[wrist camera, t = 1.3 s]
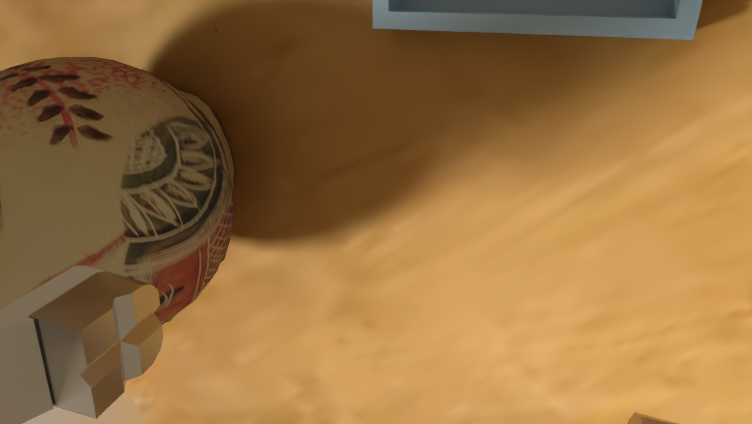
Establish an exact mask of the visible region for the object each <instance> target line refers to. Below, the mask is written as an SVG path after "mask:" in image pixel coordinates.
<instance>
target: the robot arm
mask: <svg viewBox="0 0 752 424" xmlns="http://www.w3.org/2000/svg"><path fill="white" fill-rule="evenodd" d="M159 306H160V300H159V294H158V289H157V288H155V287H154V286H153V285H151V284H149V283H145V282H142V281H138V280H135V279H132V278H128V277H125V276H121V275H118V274H115V273H111V272H108V271H103V270H99V269H96V268H92V267H89V266H85V265H82V266H73V267H72V268H70V269H68V270H67V271H65V272H63V273H62V274H60V275H58V276H56V277H55V278H53V279H51V280H50V281H48V282H46V283H45V284H43V285H41V286H40V287H38V288H36V289H34V290H33V291H31V292H29V293H28V294H26V295H24V296H23V297H21V298H19V299H18V300H16V301H14V302H12V303H11V304H9V305H7V306H6V307H4V308H2V309H0V424H22V423H24V422H26V421H28V420H30V419H32V418H35V417H37V416H39V415H41V414H43V413H45V412H47V411H49V410H51V409H53V406H55V407H59V408H62V409H65V410H68V411H72V412H75V413H78V414H82V415H85V416H88V417H92V418H95V419H97V418H98V417H99V416H100V415H101V414H102V413H103V412H104V411H105V410H106V409H107V408H108V407H109V406H110V405H111V404H112V403H113V402H114V401H115V400H117V399H118V398H119V397H120V396H121V395H122V394H123V393H124V391H125V383H126V381H127V380H130V379H132V378H135V377H138V376H140V375H142V374H143V373H144V372H145V371H146V370H147V369H148V368H149V367H150V366H151V365H152V364H153V363H154V361H155V359H156V357H157V355H158V353H159V351H160V349H161V345H162V339H163V330H162V324H161V323H160V321H159V320H158V318H157V317H156V315H155V314H154V312H155V311H156V310H157V308H158V307H159ZM628 424H678V423H674V422H670V421H666V420H662V419H658V418H654V417H651V416H647V415H643V414H639V413H634V414H633V415H632V416H631V418H630V419H629V421H628Z"/></svg>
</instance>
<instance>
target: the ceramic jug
mask: <svg viewBox="0 0 752 424" xmlns="http://www.w3.org/2000/svg"><path fill="white" fill-rule="evenodd" d="M215 31H217V30H216V28H215ZM233 181H234V166H233V160H232V156H231V151H230V147H229V144H228V142H227V140H226V138H225V135H224V133H223V131H222V128H221V126H220V124H219V122H218V120H217V118H216V117H215V115H214V113H213V112H212V110H211V108H210V107H209V106H208V105H207V104H206V103H205V102H204V101H203V100H201V99H200V98H199V97H197V96H194V95H191V94H188V93H186V92H183V91H180V90H178V89H175V88H174V87H173V86H171V85H170V84H168V83H166V82H164V81H163V80H161V79H159V78H157V77H156V76H154V75H152V74H150V73H148V72H147V71H144V70H141V69H138V68H135V67H132V66H129V65H126V64H123V63H120V62H117V61H114V60H109V59H103V58H97V57H60V58H51V59H42V60H36V61H32V62H28V63H25V64H21V65H17V66H14V67H10V68H8V69H5V70H2V71H0V309H2V308H4V307H6V306H7V305H9V304H11V303H12V302H14V301H16V300H18V299H19V298H21V297H23V296H24V295H26V294H28V293H29V292H31V291H33V290H34V289H36V288H38V287H40V286H41V285H43V284H45V283H46V282H48V281H50V280H51V279H53V278H55V277H56V276H58V275H60V274H62V273H63V272H65V271H67V270H68V269H70V268H72V267H73V266H82V265H85V266H89V267H92V268H96V269H99V270H103V271H108V272H111V273H115V274H118V275H121V276H125V277H128V278H132V279H135V280H138V281H142V282H145V283H149V284H151V285H153V286H154V287H155V288H157V289H158V294H159V300H160V306H159V307H158V308H157V310H156V311H155V312H154V314H155V315H156V317H157V318H158V320H159V321H160V323H161V324H164V323H165V322H169V321H171V319H172V318H173V317H174V316H175V315H176V314H178V313H179V312H180V311H181V310H183V309H184V308H185V307H187V306H188V305H189V304H191V303H192V302H193V301H194V300H196V298H197V297H198V296H199V294H200V293H201V292H202V290H203V289H204V288H205V286H206V285H207V284H208V283H209V282H210V280H211V279H212V278H213V276H214V275H215V273H216V272H217V270H218V267H219V265H220V263H221V262H222V261H223V260H224V258H225V255H226V252H227V248H228V245H229V241H230V237H231V232H232V228H233V220H234V194H233Z"/></svg>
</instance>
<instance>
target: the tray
mask: <svg viewBox="0 0 752 424" xmlns="http://www.w3.org/2000/svg"><path fill="white" fill-rule="evenodd" d="M702 1H703V0H373V29H401V30H429V31H457V32H485V33H513V34H541V35H569V36H597V37H625V38H653V39H681V40H693V39H694V35H695V31H696V26H697V22H698V18H699V14H700V10H701V5H702Z"/></svg>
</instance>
